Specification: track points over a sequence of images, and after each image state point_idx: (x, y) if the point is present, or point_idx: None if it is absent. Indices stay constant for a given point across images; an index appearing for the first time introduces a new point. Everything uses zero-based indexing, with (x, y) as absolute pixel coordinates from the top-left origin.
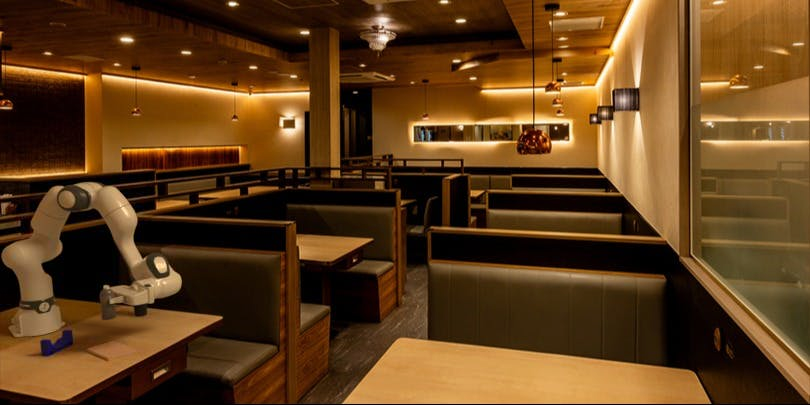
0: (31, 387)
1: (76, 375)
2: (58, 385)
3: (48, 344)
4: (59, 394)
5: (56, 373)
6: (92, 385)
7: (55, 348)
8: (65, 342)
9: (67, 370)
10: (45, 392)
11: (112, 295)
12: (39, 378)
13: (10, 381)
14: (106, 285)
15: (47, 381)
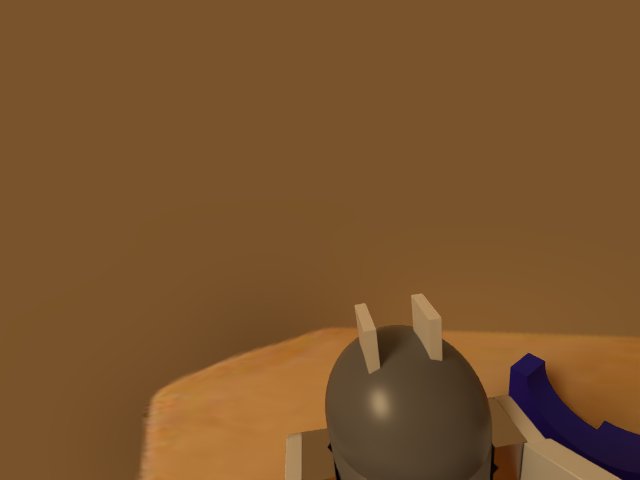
0: (284, 354)
1: (257, 438)
2: (239, 391)
3: (514, 380)
4: (191, 385)
5: (323, 401)
6: (146, 452)
7: (545, 423)
8: (623, 467)
9: (321, 428)
10: (231, 368)
11: (337, 458)
12: (322, 369)
13: (354, 332)
14: (427, 320)
15: (287, 378)
